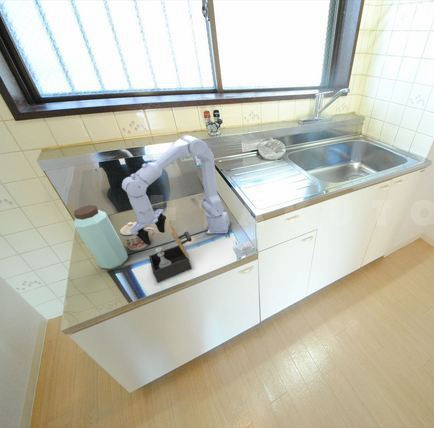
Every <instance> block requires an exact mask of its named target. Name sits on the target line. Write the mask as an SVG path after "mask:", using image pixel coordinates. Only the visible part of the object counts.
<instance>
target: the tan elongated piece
mask: <svg viewBox="0 0 434 428" xmlns="http://www.w3.org/2000/svg"><path fill="white" fill-rule="evenodd" d="M165 224H166V225H167V228H168V230H169V233H170V235H171V236H172V237H173V240H174V241H175V242H176V244H177V245H179V247H180V248H181V250H182V251H183V253H184V254H185V256H186V257H187V258H188V259H189V258H190V256H189V254H188V252H187V249H186V247H185V244H186V243H191V242H192V240H193V239H192V236H191V234H190V233H189V231H184V232H183V234H180V235H179V234H178V233H177V231H176V230H175V229H174V227H173V225H172V224H171V222H170V221H169V219H168V218H166V219H165ZM182 238H186V239H185V240H183V241H182Z"/></svg>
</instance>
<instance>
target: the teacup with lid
mask: <svg viewBox="0 0 434 428" xmlns="http://www.w3.org/2000/svg"><path fill="white" fill-rule="evenodd" d="M136 223H137V221H134V222H133V221H130V222H127V223H126V224H125V225H124V226H122V227H121V228H120V230H119V235H120V236H122V238H123V240H124V243H125V244H126V246H127V248H128V249H129V250H130V251H140V250H143V249H145V248H146V247H148V246H149V245H147V244H145V243H144V242H143V241H142V240H141V239H140V238H139V237H137V236H136V235H134V234H131V232H130V229H131V228H133V226H134V225H135V224H136ZM143 230H145V231H152V234H148V236H149V239H150V238H152V237H154V236H155V234H156V231H155V228H153V227H150V226H149V227H148V226H147V227H144V228H143Z"/></svg>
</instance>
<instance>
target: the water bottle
mask: <svg viewBox="0 0 434 428" xmlns="http://www.w3.org/2000/svg"><path fill="white" fill-rule="evenodd" d="M73 216H74V217H75V218H74V221H73V227H74V229H75V231H76V232H77V233H78V235H79V236H80V238H81V239H82V241H83V243H84V244H85V246H86V247H87V249H88V250H89V252H90V254H91V255H92V257H93V258H94V259H95V262H96V263H97V264H98V265H99V267H100V268H102V269H107V270H114V269H117V268H119V267H121V266H123V264H124V263H125V262H127V261H128V259H129V255H128V251H127V249H126V248H125V246H124V244H123V242H122V240H121V239H120V237H119V235H118V233H117V230H116V229H115V227H114V226H113V225H114V224H113V223H112V221H111V220H110V218H109V216H108V214H107V212H105V211H102V210H100V209H98V207H97V205H94V204H93V205H91V204H88V205H84V206H81V207H79V208H76V209H75V210H74V211H73Z"/></svg>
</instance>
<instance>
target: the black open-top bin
mask: <svg viewBox="0 0 434 428" xmlns="http://www.w3.org/2000/svg"><path fill="white" fill-rule="evenodd" d="M162 252H164V255H163V256H164V257H165V259H167V260H169V261H171V263H172V264H170V265H168V266H165V267H163V268H159V264H160V261H161V259H160V257H158V256H157V254H158V252H155V253H153V254H150V255H148V258H149V263H150V267H151V271H152V274H153V275H154V278H155V280H156V282H157V283H159V284H160V283H161V282H164V281H166V280H168V279H171V278H173V277H176V276H178V275H180V274H183V273H186V272H187V271H191V270H192V269H193V267H192V265H191V261H190V259H189V257H188V258H187V257H186V256H185V254H184V253H183V251H182V250H181V248H180V247H179V245H178V244H177V245H175V246H172V247H169V248H167V249H163V250H162Z"/></svg>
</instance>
